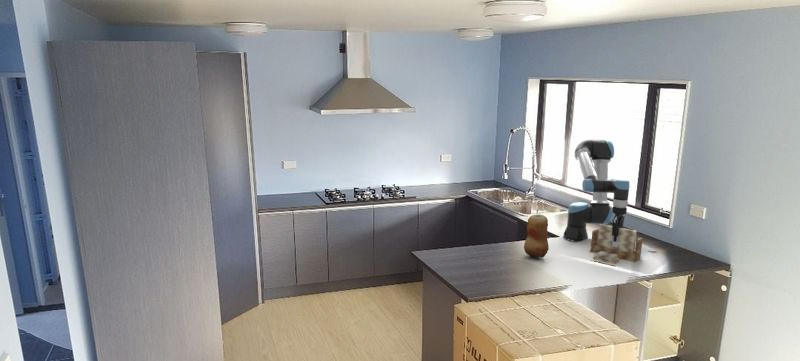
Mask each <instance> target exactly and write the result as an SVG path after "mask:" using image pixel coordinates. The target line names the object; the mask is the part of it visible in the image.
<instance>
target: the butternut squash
mask: <svg viewBox="0 0 800 361" xmlns="http://www.w3.org/2000/svg"><path fill="white" fill-rule="evenodd" d="M548 220H549V219H548V217H547V216H546V215H543V214H538V213H537V214H532V215H530V216H529V217H528V219H527V224H526V231H527V237H526V239H525V241H524V244H523V250H524V252H525V253H526V255H528V256H529V257H530V258H532V259H537V260H538V259H539V258H544V257H545V256H546V255H547V254H548V252H549V250H550V248H549V241H548V226H549V223H548V222H549V221H548Z"/></svg>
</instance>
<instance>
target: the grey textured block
mask: <svg viewBox="0 0 800 361" xmlns="http://www.w3.org/2000/svg"><path fill="white" fill-rule="evenodd" d="M592 258H593V261H594V262H593V263H597V262H598V263H599V264H602V265H605V266H611V267H616V264H617V263H619V262H620V260H621V259H618V258H617V259H616V260H615V261H609V260H604V259H600V258H597V254H596V255H594V257H592ZM600 261H601V262H600ZM613 264H614V265H613Z"/></svg>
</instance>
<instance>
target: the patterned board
mask: <svg viewBox="0 0 800 361" xmlns="http://www.w3.org/2000/svg"><path fill="white" fill-rule="evenodd" d="M598 225H599V226H598V229H599V234H598V245H597V246H602V247H606V248H611V249H615V250H620V251H624V252H629V253H633V254H634V251H635V241H636V240H637V230H634V229H630V228H629V229H628V228H624V227H623V228H619V232H618V236H619V237H618V246H617V247H613V246H612V243H613V236H612V225H609V224H598Z"/></svg>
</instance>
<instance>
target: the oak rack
mask: <svg viewBox="0 0 800 361" xmlns="http://www.w3.org/2000/svg"><path fill="white" fill-rule="evenodd" d="M598 234H599V228H596V229H593V230H592V232H591V242H590V250H589V251H588V252H589V253H593V254H596V255H597V253H599V252H600V251H603V252H607V253H612V254H616V255H617V259H620V260H623V261H627V262H632V263H637V262H638V261H639V260H640V259H642V250H641V248H642V244H643V238H642V237H638V238H636V245H635V250H634V254H633V253H629V252H624V251H620V250H615V249H611V248H606V247H602V246H597V245H598Z"/></svg>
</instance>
